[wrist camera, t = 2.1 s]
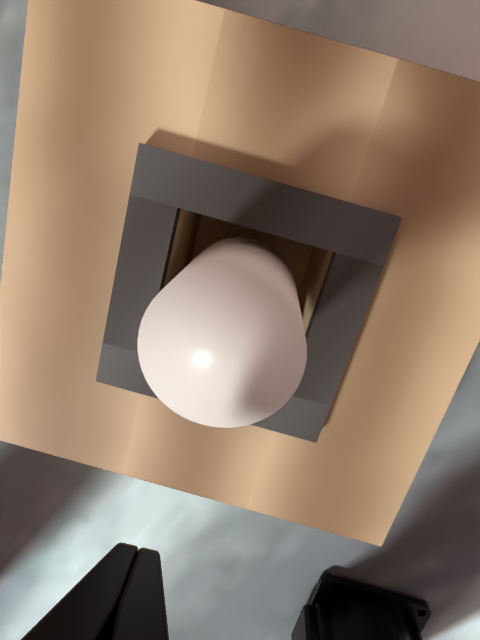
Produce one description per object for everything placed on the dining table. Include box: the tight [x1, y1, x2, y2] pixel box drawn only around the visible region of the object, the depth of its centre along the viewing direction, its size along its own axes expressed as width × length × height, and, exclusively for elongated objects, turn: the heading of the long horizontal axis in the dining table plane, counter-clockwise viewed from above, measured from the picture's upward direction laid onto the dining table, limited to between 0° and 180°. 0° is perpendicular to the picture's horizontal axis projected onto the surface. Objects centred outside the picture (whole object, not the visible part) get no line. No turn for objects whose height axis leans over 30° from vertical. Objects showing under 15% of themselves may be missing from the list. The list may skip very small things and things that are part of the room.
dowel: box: [137, 237, 307, 428], centre depth 13 cm, size 4×4×6 cm
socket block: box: [0, 0, 480, 546], centre depth 17 cm, size 16×16×7 cm
